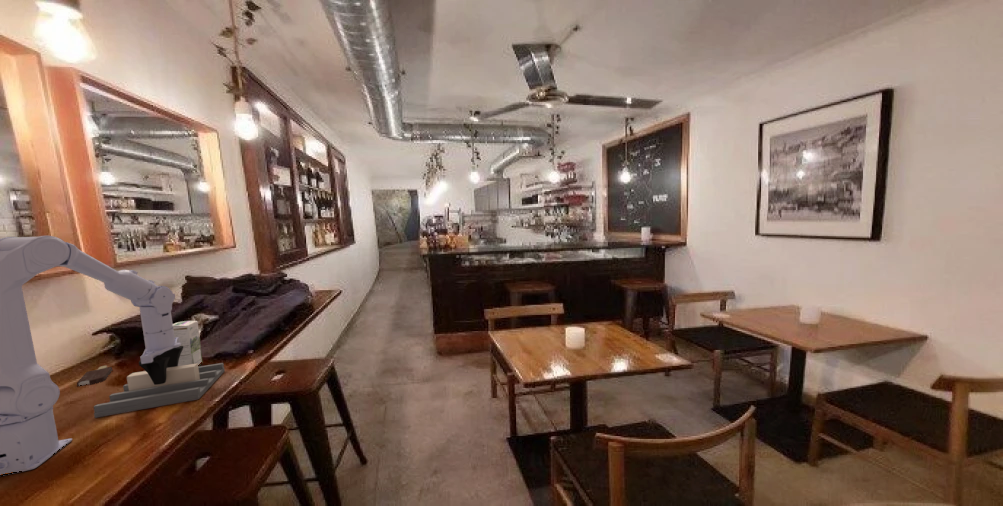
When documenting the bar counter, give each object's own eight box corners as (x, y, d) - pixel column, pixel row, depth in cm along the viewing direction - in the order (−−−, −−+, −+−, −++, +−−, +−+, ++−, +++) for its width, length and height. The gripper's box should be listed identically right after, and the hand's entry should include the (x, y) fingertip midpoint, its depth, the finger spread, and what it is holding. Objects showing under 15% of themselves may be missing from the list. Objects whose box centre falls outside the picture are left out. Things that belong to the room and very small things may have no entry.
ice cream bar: (92, 371, 112) (76, 388, 100) (91, 366, 111) (75, 383, 100) (116, 366, 115) (104, 382, 103) (115, 361, 115) (103, 377, 103)
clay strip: (200, 380, 99) (197, 363, 98) (196, 384, 97) (193, 366, 96) (135, 390, 94) (132, 373, 93) (129, 395, 92) (126, 376, 91)
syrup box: (181, 366, 112) (175, 322, 111) (203, 363, 114) (197, 319, 112) (171, 373, 107) (164, 327, 105) (194, 370, 109) (188, 324, 107)
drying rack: (198, 399, 91) (197, 389, 90) (94, 417, 83) (92, 407, 83) (224, 371, 107) (223, 362, 107) (139, 384, 100) (138, 375, 100)
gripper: (163, 336, 88) (170, 387, 90) (189, 320, 102) (196, 365, 103) (126, 340, 86) (134, 393, 87) (158, 324, 99) (165, 370, 101)
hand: (165, 378), depth 95 cm, fingers open, 5 cm apart
